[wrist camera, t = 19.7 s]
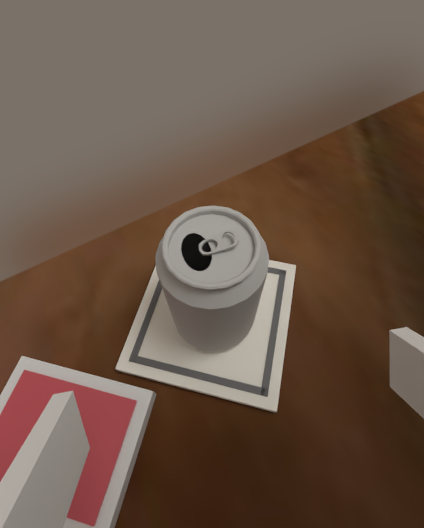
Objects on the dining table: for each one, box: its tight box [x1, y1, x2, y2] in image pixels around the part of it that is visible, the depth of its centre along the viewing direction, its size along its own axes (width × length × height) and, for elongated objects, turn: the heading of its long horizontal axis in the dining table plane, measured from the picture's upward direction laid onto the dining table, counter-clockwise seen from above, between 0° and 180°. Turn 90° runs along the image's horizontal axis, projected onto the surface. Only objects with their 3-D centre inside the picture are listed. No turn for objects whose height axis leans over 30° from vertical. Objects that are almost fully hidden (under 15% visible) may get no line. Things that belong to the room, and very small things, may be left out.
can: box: [156, 206, 269, 352], centre depth 24 cm, size 8×8×12 cm
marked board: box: [115, 260, 296, 413], centre depth 30 cm, size 14×14×1 cm
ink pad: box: [0, 356, 157, 528], centre depth 24 cm, size 12×10×2 cm
